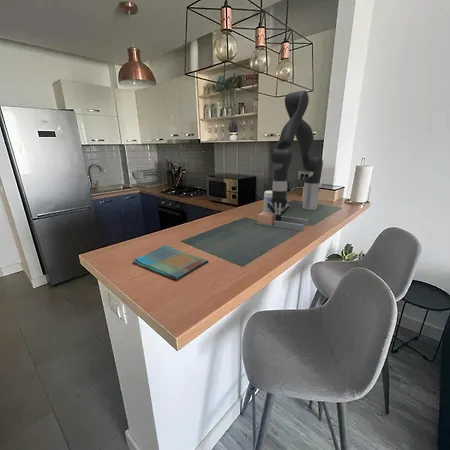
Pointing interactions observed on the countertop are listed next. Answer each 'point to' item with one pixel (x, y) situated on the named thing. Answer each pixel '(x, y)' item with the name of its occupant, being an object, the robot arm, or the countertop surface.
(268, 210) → the supplement tub
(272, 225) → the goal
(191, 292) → the countertop surface
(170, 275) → the dish towel
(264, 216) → the block
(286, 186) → the robot arm
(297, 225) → the chute
